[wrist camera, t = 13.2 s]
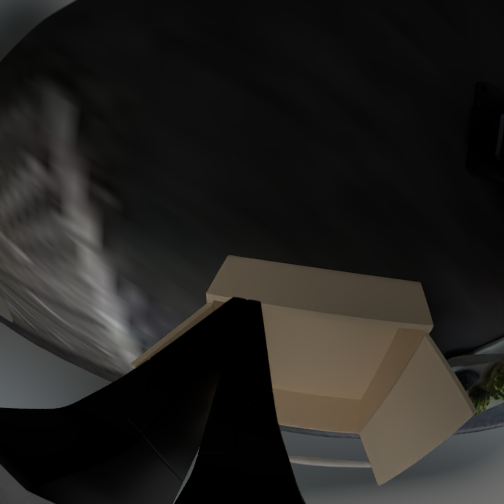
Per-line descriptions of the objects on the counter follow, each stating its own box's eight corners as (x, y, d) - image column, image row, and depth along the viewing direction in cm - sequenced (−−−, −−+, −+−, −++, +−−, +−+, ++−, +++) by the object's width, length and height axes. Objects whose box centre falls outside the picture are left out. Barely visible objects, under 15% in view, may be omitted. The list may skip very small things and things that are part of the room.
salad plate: (560, 289, 17) (578, 318, 13) (540, 375, 23) (548, 399, 19) (415, 356, 26) (420, 392, 22) (430, 420, 32) (432, 447, 28)
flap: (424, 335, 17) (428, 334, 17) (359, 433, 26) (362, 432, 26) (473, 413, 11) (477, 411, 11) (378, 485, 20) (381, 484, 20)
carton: (420, 282, 21) (433, 325, 17) (363, 398, 31) (361, 433, 26) (228, 255, 24) (206, 293, 20) (234, 378, 34) (222, 412, 30)
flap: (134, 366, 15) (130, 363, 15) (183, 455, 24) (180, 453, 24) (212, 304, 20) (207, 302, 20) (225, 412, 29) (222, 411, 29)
